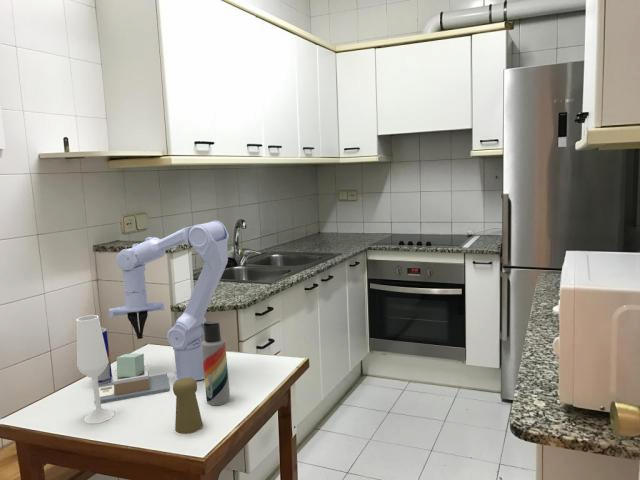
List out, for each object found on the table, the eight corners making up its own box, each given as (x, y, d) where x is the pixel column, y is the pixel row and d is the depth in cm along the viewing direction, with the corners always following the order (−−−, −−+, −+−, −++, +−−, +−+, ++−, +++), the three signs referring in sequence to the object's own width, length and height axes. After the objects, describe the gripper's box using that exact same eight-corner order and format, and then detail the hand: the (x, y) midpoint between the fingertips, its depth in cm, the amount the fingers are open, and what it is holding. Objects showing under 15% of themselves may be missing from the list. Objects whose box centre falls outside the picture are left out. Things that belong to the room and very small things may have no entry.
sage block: (144, 372, 143) (143, 353, 143) (135, 376, 138) (134, 357, 139) (126, 372, 144) (125, 353, 144) (117, 376, 139) (116, 357, 139)
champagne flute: (100, 408, 132) (88, 313, 128) (120, 412, 129) (109, 315, 125) (77, 420, 126) (64, 321, 122) (98, 425, 123) (85, 323, 119)
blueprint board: (167, 376, 150) (165, 360, 149) (169, 391, 140) (167, 374, 139) (97, 388, 144) (95, 371, 144) (94, 404, 134) (92, 386, 133)
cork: (177, 422, 122) (172, 375, 121) (204, 419, 123) (200, 373, 121) (172, 435, 116) (167, 386, 115) (201, 432, 117) (196, 384, 115)
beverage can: (105, 386, 145) (99, 332, 143) (88, 386, 146) (82, 332, 144) (116, 379, 150) (110, 327, 148) (99, 378, 151) (93, 327, 149)
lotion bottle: (202, 404, 131) (194, 324, 128) (214, 394, 136) (207, 317, 133) (222, 406, 129) (215, 325, 126) (234, 396, 134) (227, 318, 131)
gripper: (161, 284, 156) (166, 330, 158) (108, 290, 152) (113, 337, 153) (162, 289, 149) (167, 337, 151) (106, 296, 145) (112, 344, 147)
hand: (140, 337), depth 152 cm, fingers closed
